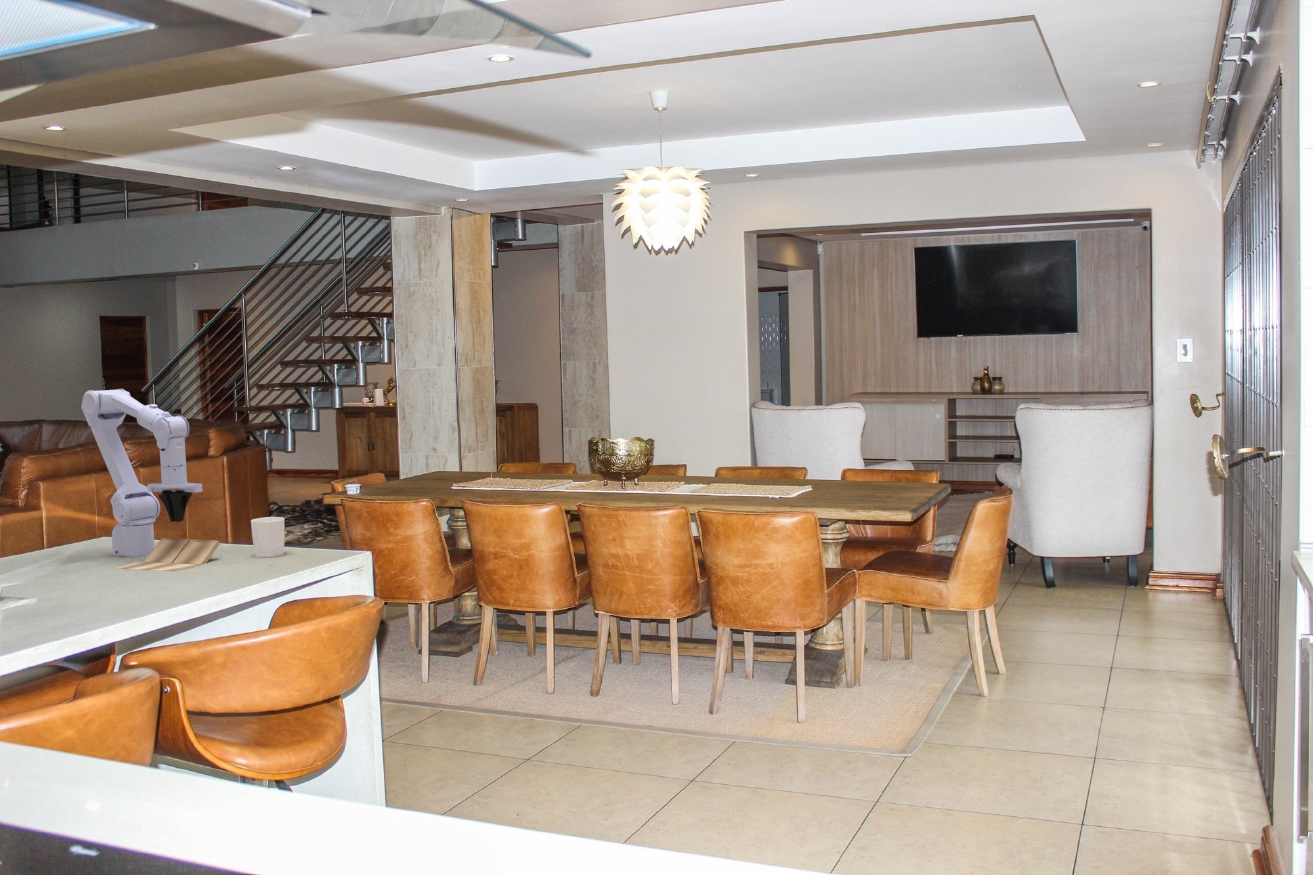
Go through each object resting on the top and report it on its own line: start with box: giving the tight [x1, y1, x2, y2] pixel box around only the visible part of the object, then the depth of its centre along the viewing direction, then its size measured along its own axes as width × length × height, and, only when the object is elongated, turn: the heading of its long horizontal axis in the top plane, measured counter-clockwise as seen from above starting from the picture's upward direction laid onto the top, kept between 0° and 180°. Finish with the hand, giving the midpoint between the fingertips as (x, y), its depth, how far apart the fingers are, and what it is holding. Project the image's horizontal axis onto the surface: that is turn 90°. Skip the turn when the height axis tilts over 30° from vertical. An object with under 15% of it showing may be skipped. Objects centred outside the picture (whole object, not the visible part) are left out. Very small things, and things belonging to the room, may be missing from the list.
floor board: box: [115, 561, 201, 573], centre depth 269 cm, size 18×8×1 cm, turn 73°
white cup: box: [250, 516, 286, 558], centre depth 282 cm, size 8×8×10 cm
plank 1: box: [143, 537, 190, 563], centre depth 278 cm, size 8×8×1 cm
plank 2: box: [173, 539, 221, 566], centre depth 275 cm, size 8×8×1 cm
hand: (177, 521), depth 278 cm, fingers closed
